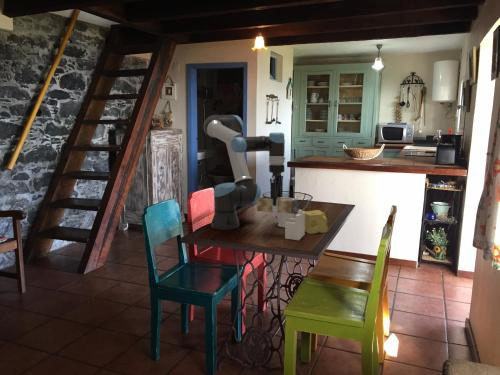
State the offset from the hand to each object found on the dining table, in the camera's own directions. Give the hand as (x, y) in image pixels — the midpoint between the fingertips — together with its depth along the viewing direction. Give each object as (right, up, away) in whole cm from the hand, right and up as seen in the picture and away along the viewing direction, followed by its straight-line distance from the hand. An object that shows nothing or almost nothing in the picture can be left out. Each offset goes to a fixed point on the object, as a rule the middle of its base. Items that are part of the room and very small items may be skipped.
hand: (276, 210), depth 210 cm
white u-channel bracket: (+10, -13, -2) cm, 16 cm away
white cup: (+6, -10, +20) cm, 23 cm away
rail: (0, 0, 0) cm, 0 cm away
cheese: (+20, -11, +9) cm, 25 cm away
